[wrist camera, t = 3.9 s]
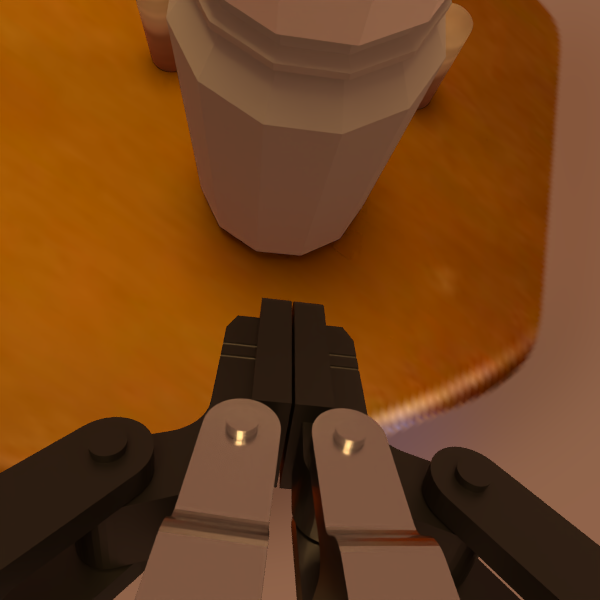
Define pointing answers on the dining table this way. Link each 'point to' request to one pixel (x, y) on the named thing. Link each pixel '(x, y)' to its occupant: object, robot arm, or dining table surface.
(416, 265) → the dining table surface
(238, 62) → the jar
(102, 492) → the robot arm
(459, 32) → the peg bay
